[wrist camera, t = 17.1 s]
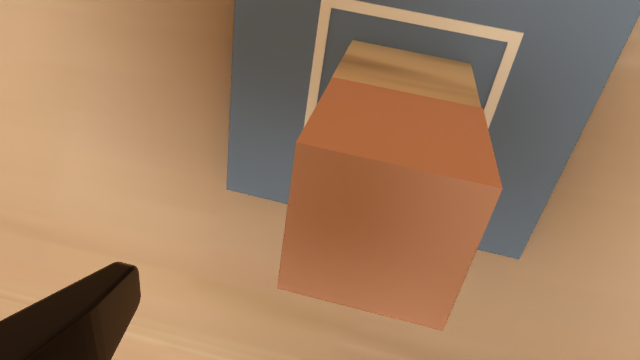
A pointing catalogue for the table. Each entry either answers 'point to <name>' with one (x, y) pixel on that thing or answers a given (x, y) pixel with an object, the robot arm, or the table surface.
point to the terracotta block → (388, 201)
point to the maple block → (409, 72)
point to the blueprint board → (441, 41)
